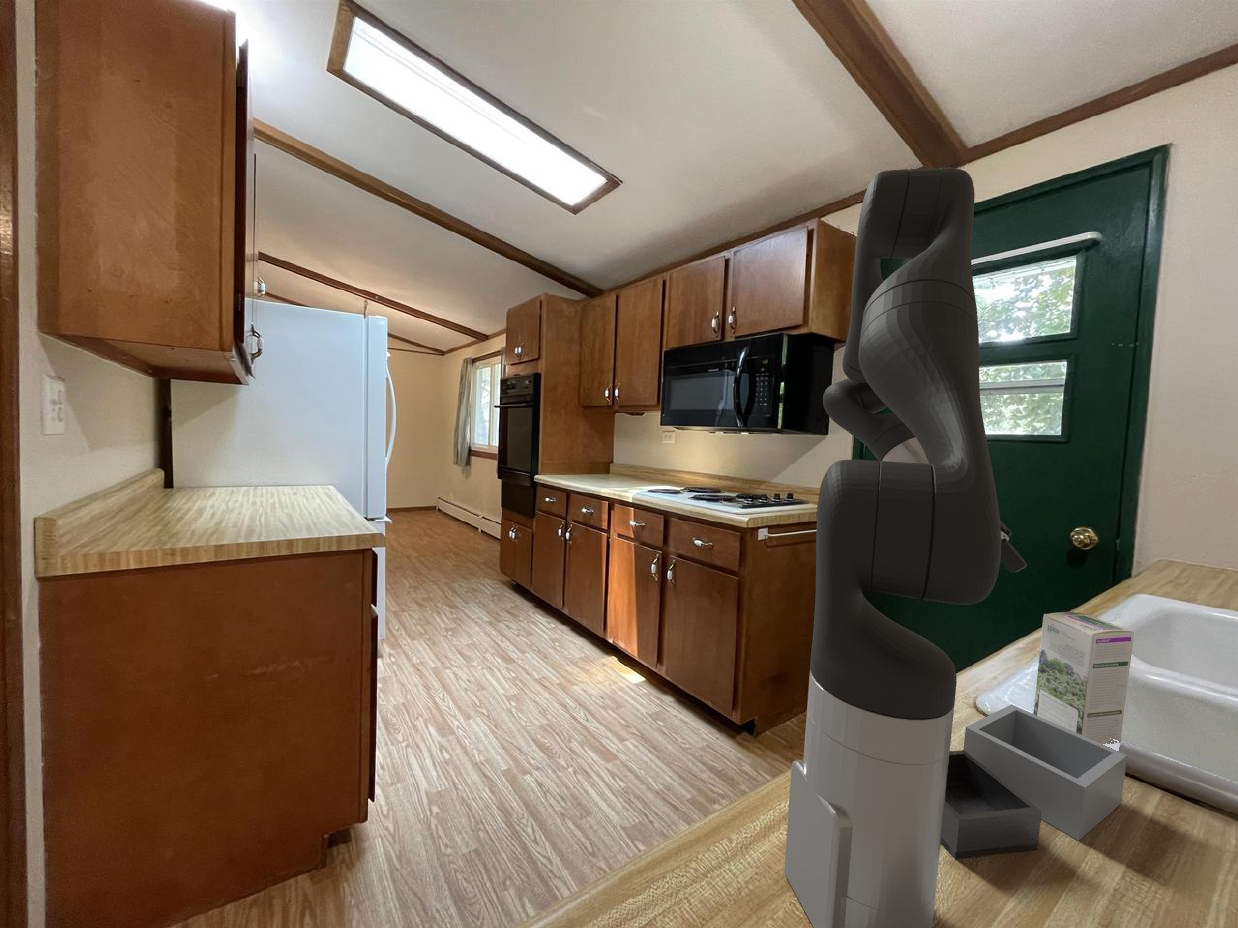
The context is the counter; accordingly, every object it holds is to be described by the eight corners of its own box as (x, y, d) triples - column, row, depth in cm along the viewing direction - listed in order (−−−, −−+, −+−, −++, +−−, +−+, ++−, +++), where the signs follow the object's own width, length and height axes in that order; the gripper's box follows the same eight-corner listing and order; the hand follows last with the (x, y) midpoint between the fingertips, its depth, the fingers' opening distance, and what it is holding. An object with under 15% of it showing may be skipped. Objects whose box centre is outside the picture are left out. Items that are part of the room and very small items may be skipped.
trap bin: (955, 858, 42) (959, 819, 42) (889, 788, 50) (892, 755, 49) (1037, 849, 43) (1041, 811, 43) (960, 782, 51) (963, 749, 51)
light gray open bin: (1078, 840, 44) (1085, 787, 44) (961, 772, 53) (965, 726, 52) (1120, 803, 49) (1127, 755, 48) (1006, 746, 57) (1011, 704, 57)
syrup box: (1122, 754, 56) (1138, 630, 55) (1078, 758, 55) (1093, 632, 54) (1069, 724, 62) (1083, 610, 61) (1028, 727, 61) (1041, 611, 60)
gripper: (913, 459, 68) (1001, 565, 59) (970, 458, 75) (1057, 553, 66) (873, 492, 73) (949, 594, 64) (930, 488, 80) (1006, 580, 71)
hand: (1003, 573), depth 65 cm, fingers open, 8 cm apart
